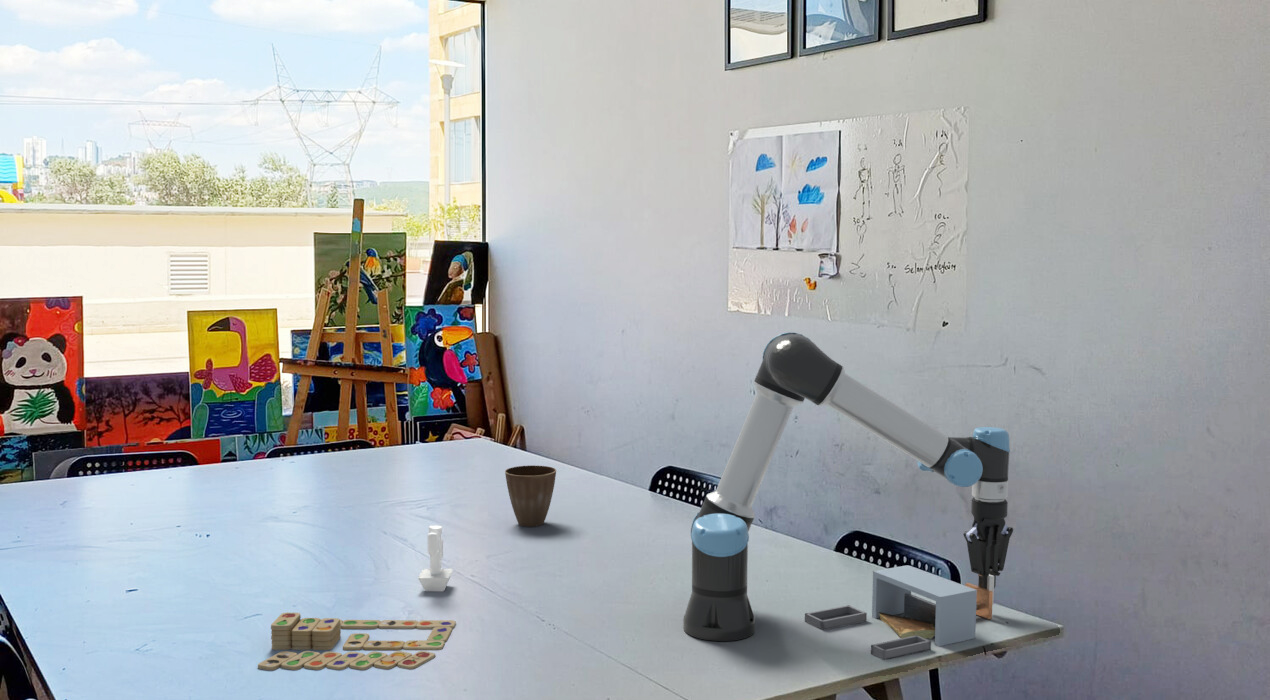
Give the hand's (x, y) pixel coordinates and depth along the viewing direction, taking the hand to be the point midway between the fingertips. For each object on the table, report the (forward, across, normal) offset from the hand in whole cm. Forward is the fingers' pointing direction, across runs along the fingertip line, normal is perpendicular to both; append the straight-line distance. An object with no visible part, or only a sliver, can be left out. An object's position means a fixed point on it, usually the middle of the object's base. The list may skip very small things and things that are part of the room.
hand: (986, 603), depth 240 cm
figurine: (+2, -102, +74) cm, 126 cm away
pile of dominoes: (+3, -127, +45) cm, 135 cm away
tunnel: (+2, -19, 0) cm, 19 cm away
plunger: (+2, -10, 0) cm, 10 cm away
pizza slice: (+3, -24, 0) cm, 24 cm away
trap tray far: (+2, -33, +12) cm, 35 cm away
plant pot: (+2, -57, +121) cm, 134 cm away
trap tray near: (+2, -33, -9) cm, 34 cm away
